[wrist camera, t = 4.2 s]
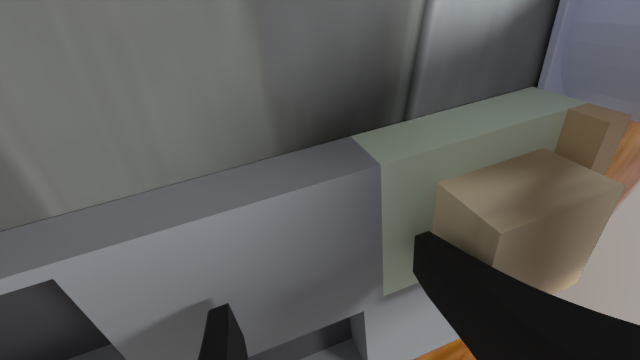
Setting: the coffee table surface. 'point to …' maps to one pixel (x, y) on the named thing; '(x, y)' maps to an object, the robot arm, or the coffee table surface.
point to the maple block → (528, 216)
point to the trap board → (277, 244)
